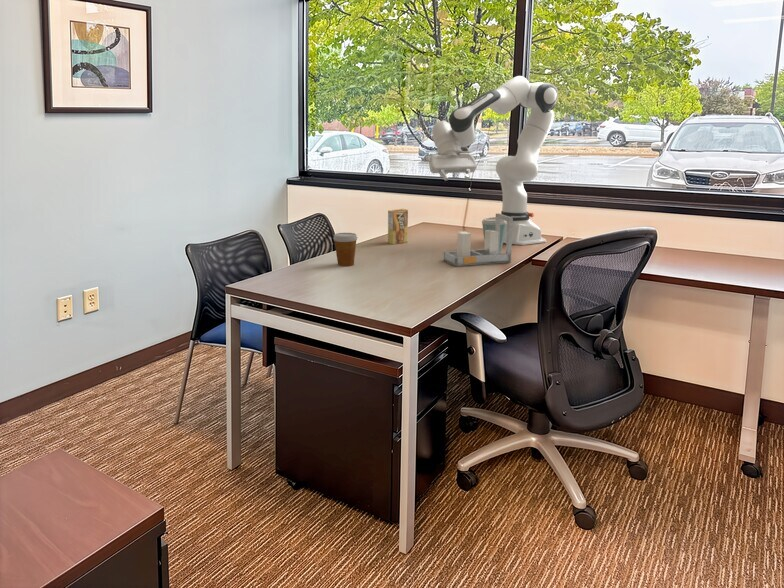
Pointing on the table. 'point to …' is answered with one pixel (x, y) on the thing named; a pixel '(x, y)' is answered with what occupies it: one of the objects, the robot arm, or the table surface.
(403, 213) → the candy box
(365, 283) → the table surface
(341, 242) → the disposable coffee cup
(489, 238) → the rack
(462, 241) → the cream rectangular block
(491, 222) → the disposable coffee cup
